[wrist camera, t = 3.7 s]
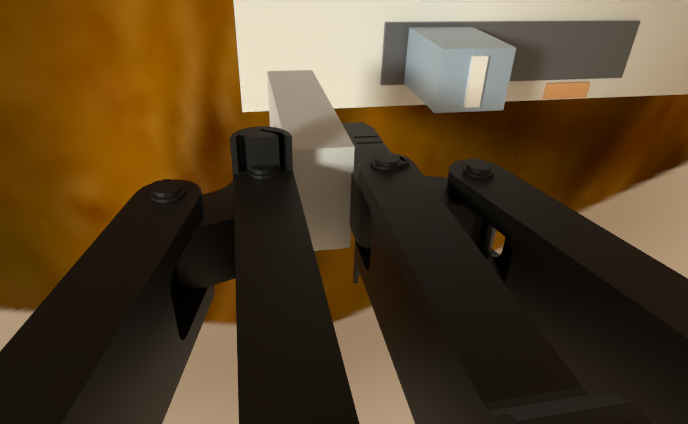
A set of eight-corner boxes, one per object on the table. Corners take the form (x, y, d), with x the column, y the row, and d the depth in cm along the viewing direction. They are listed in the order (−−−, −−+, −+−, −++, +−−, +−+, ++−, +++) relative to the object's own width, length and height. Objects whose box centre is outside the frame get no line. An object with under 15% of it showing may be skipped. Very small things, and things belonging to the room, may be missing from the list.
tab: (403, 83, 23) (436, 114, 19) (409, 27, 22) (445, 50, 18) (463, 81, 23) (505, 112, 20) (472, 26, 22) (518, 48, 19)
